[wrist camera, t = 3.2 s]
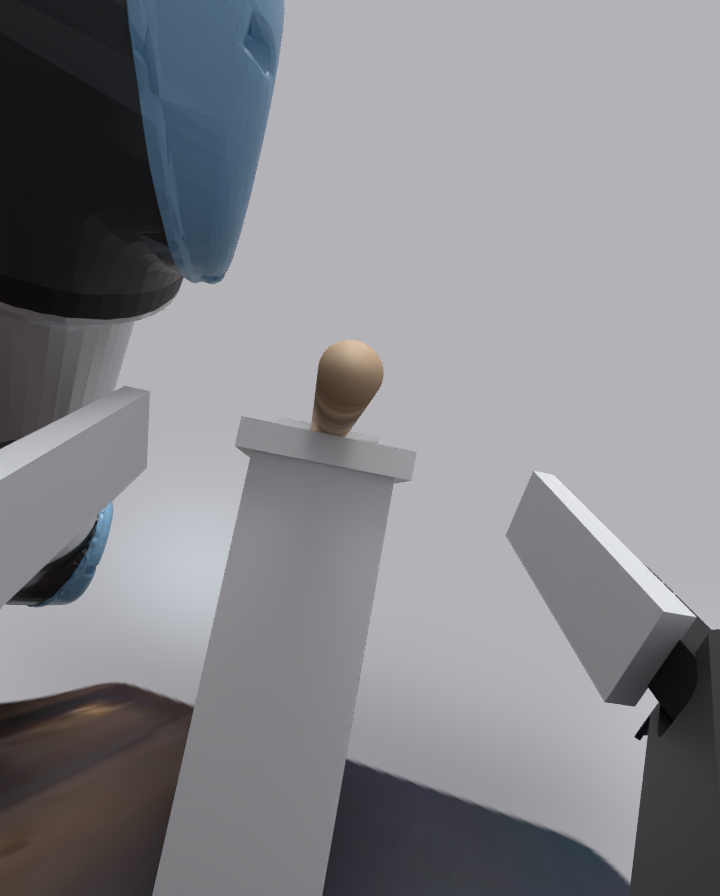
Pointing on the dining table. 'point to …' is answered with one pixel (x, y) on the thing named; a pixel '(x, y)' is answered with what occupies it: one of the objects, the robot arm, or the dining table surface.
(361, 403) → the ball
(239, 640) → the plinth
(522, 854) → the dining table surface
